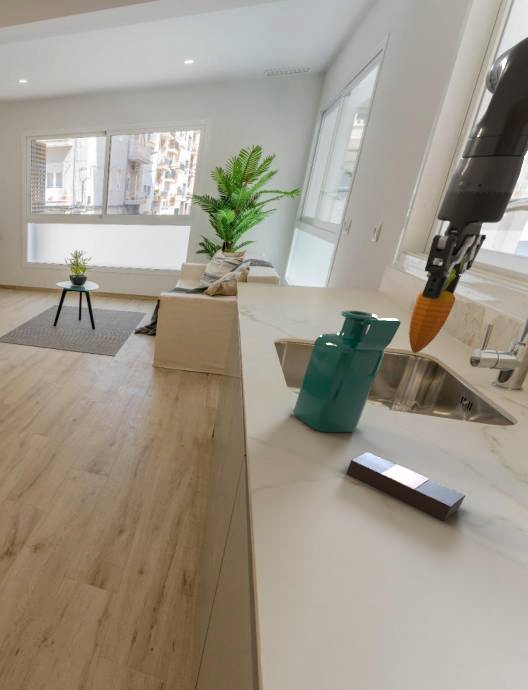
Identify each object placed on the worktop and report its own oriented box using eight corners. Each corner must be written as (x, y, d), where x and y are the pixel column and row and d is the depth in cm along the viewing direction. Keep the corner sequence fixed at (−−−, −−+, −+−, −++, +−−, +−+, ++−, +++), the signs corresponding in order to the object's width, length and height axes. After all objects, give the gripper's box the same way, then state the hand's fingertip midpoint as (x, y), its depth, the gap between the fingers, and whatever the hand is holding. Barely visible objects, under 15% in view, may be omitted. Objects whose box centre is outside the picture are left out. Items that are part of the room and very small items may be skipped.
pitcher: (288, 411, 86) (320, 305, 77) (327, 411, 86) (363, 306, 78) (322, 437, 77) (363, 320, 68) (366, 437, 77) (412, 320, 69)
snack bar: (362, 464, 69) (367, 451, 68) (458, 509, 60) (466, 494, 59) (345, 473, 67) (351, 459, 66) (443, 521, 57) (451, 506, 56)
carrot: (406, 355, 75) (439, 270, 70) (391, 347, 80) (421, 266, 74) (439, 358, 74) (475, 272, 69) (422, 349, 79) (454, 267, 73)
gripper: (496, 188, 60) (447, 305, 67) (528, 191, 67) (481, 297, 73) (429, 188, 66) (391, 296, 73) (465, 190, 73) (427, 289, 79)
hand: (437, 296), depth 73 cm, fingers closed on carrot, 5 cm apart
